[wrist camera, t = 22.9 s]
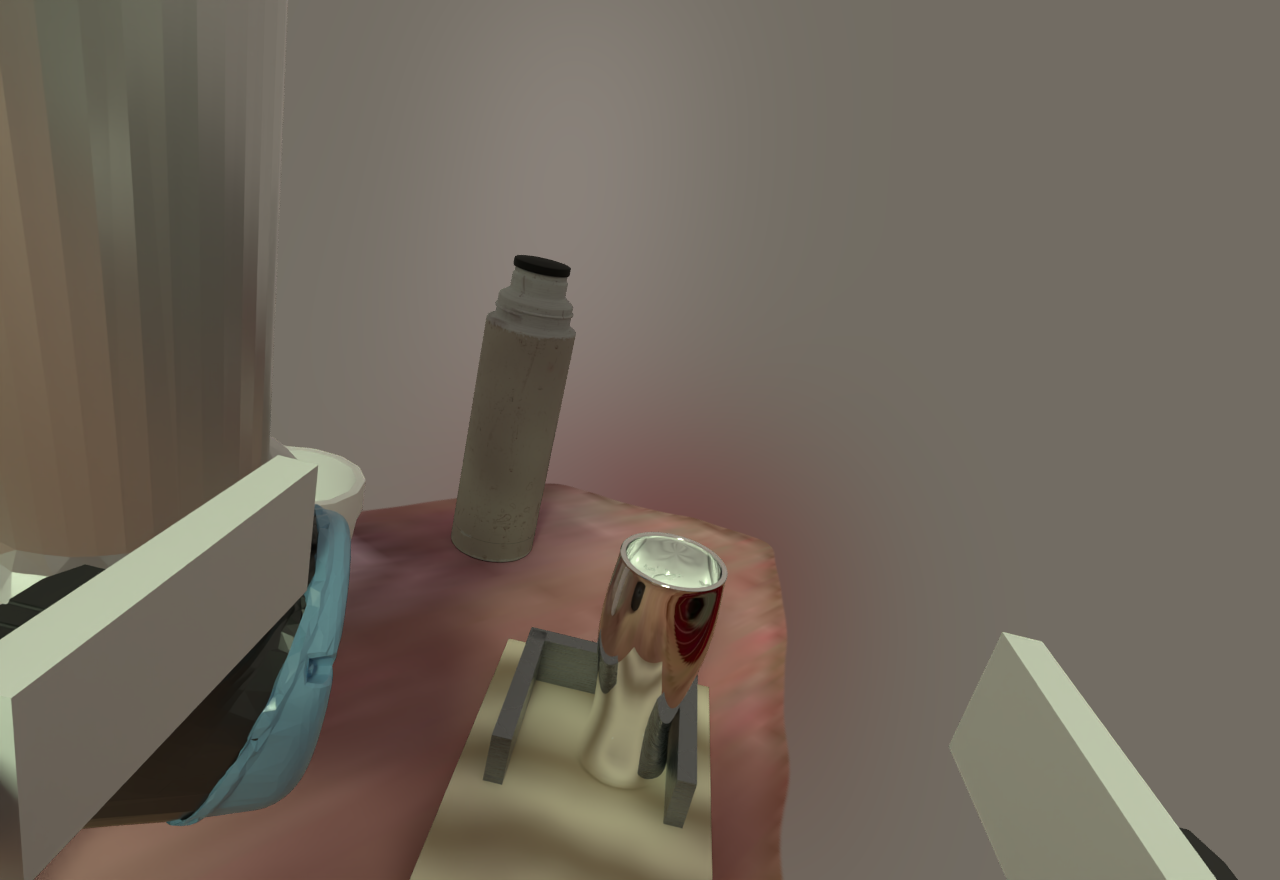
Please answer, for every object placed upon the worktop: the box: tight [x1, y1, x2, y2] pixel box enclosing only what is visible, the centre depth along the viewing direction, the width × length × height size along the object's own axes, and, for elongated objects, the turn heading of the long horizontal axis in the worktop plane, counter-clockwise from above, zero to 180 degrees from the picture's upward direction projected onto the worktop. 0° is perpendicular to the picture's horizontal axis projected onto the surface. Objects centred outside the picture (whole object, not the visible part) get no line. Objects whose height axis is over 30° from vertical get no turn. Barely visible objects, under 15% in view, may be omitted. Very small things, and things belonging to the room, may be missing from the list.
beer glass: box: [576, 532, 727, 789], centre depth 47 cm, size 7×7×15 cm
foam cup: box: [285, 446, 366, 539], centre depth 53 cm, size 10×9×13 cm
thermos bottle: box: [451, 255, 576, 562], centre depth 70 cm, size 8×8×28 cm
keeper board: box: [410, 639, 712, 880], centre depth 48 cm, size 24×16×2 cm, turn 175°
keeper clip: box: [483, 627, 698, 828], centre depth 50 cm, size 11×12×4 cm
